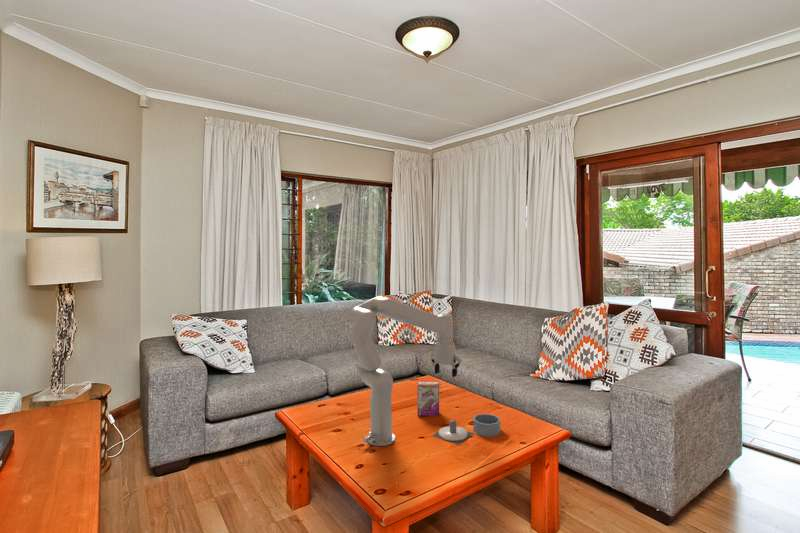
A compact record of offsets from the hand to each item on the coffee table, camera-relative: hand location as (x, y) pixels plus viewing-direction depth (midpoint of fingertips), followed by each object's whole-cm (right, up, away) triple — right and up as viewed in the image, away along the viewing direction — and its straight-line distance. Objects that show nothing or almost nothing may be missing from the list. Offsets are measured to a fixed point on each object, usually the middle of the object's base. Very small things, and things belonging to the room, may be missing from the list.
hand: (445, 374), depth 201 cm
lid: (+2, -24, -13) cm, 27 cm away
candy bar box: (-8, -24, +11) cm, 27 cm away
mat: (+2, -24, -13) cm, 28 cm away
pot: (+18, -24, -10) cm, 31 cm away
